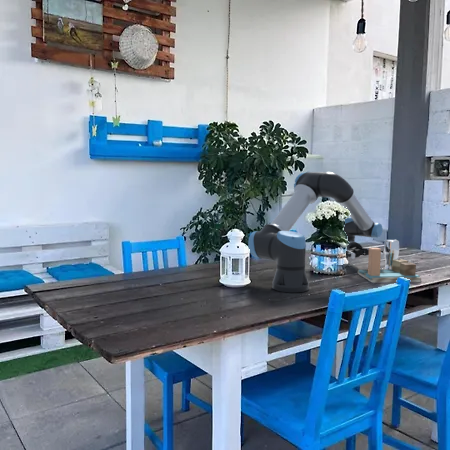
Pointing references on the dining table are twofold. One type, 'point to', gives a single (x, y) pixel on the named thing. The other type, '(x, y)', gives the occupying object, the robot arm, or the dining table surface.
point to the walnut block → (408, 269)
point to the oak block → (397, 264)
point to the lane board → (385, 280)
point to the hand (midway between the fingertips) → (368, 256)
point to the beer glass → (391, 252)
